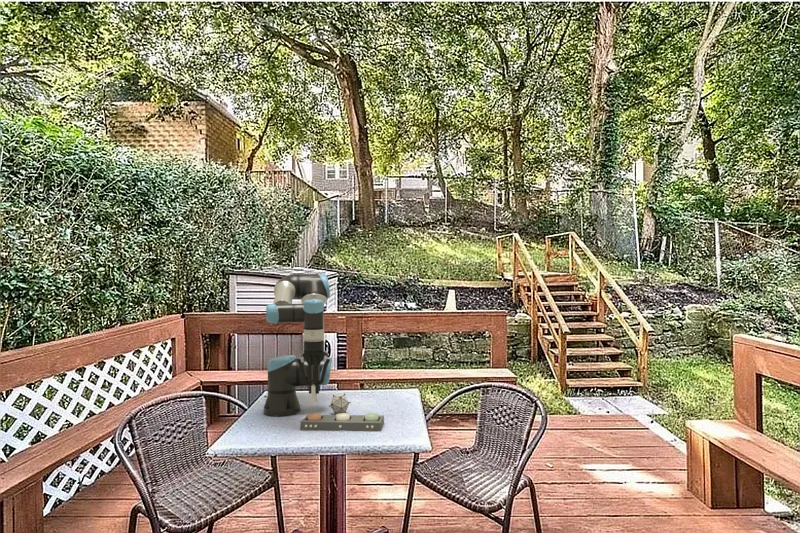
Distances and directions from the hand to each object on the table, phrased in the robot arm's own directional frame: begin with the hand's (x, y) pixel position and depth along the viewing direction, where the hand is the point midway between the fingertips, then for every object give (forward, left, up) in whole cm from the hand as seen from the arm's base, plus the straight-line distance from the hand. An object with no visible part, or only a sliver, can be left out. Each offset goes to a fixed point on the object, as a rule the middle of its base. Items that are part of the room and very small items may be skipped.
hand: (314, 402), depth 210 cm
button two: (+22, -1, -8) cm, 24 cm away
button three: (0, -1, -8) cm, 8 cm away
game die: (+6, +19, -9) cm, 22 cm away
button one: (+11, -1, -8) cm, 14 cm away
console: (+11, -1, -9) cm, 14 cm away
